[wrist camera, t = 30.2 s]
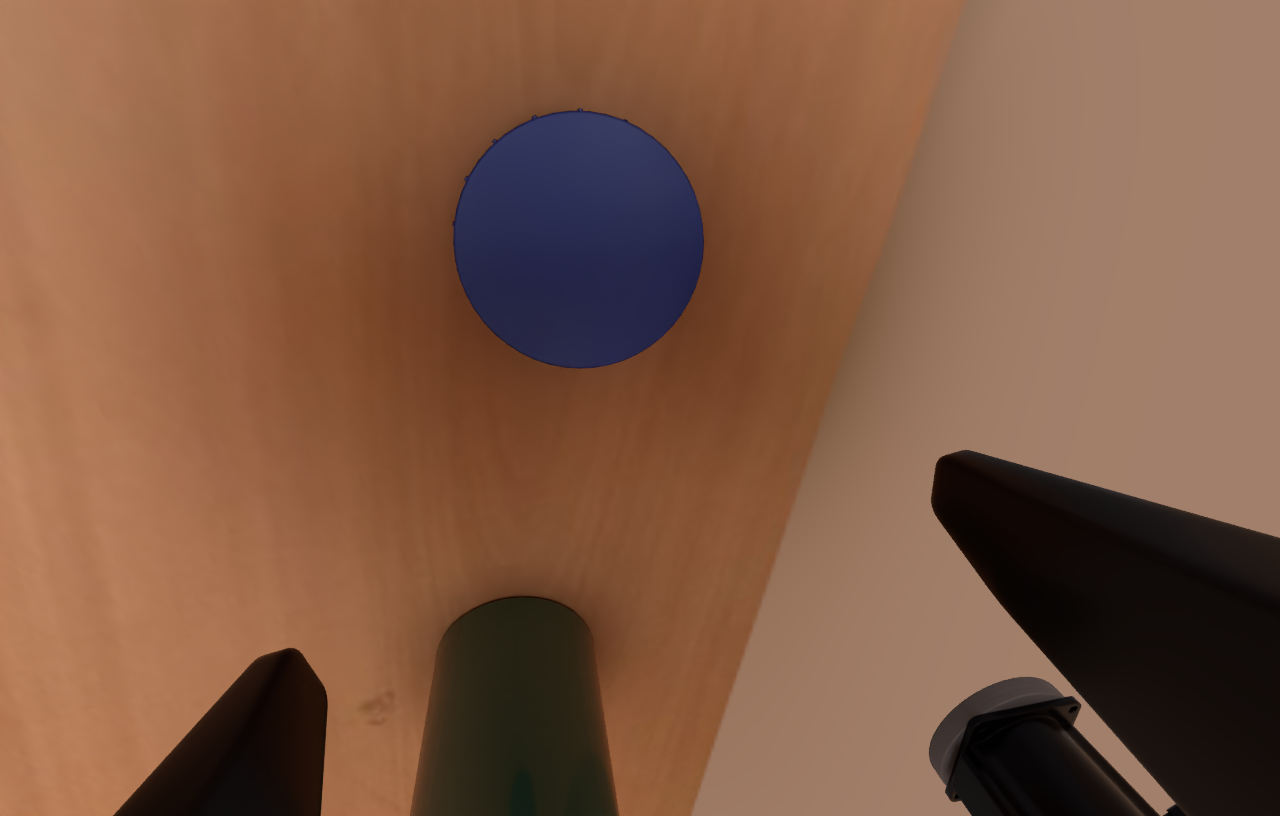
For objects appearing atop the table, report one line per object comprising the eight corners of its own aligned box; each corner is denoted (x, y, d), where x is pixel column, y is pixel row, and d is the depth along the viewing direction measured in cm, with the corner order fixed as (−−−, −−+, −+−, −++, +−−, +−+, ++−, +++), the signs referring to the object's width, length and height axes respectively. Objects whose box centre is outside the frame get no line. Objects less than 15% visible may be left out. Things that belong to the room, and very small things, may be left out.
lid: (733, 228, 18) (755, 235, 17) (591, 392, 20) (597, 413, 18) (561, 51, 15) (566, 39, 14) (408, 256, 17) (396, 268, 15)
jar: (572, 577, 23) (613, 900, 13) (608, 685, 25) (663, 1017, 16) (411, 624, 22) (326, 999, 12) (465, 729, 25) (431, 1102, 15)
